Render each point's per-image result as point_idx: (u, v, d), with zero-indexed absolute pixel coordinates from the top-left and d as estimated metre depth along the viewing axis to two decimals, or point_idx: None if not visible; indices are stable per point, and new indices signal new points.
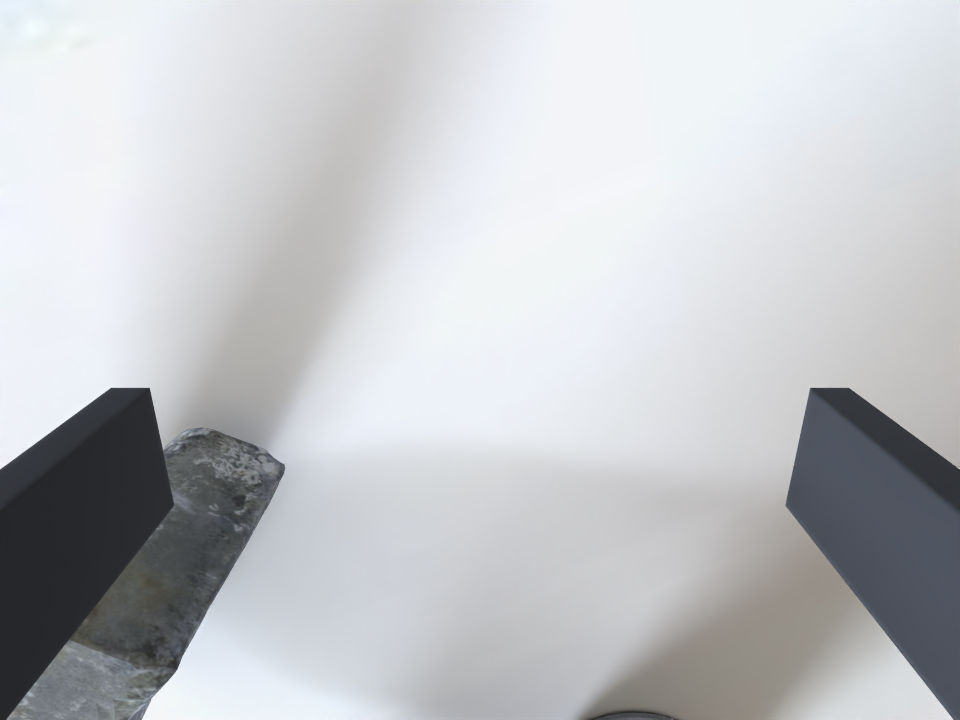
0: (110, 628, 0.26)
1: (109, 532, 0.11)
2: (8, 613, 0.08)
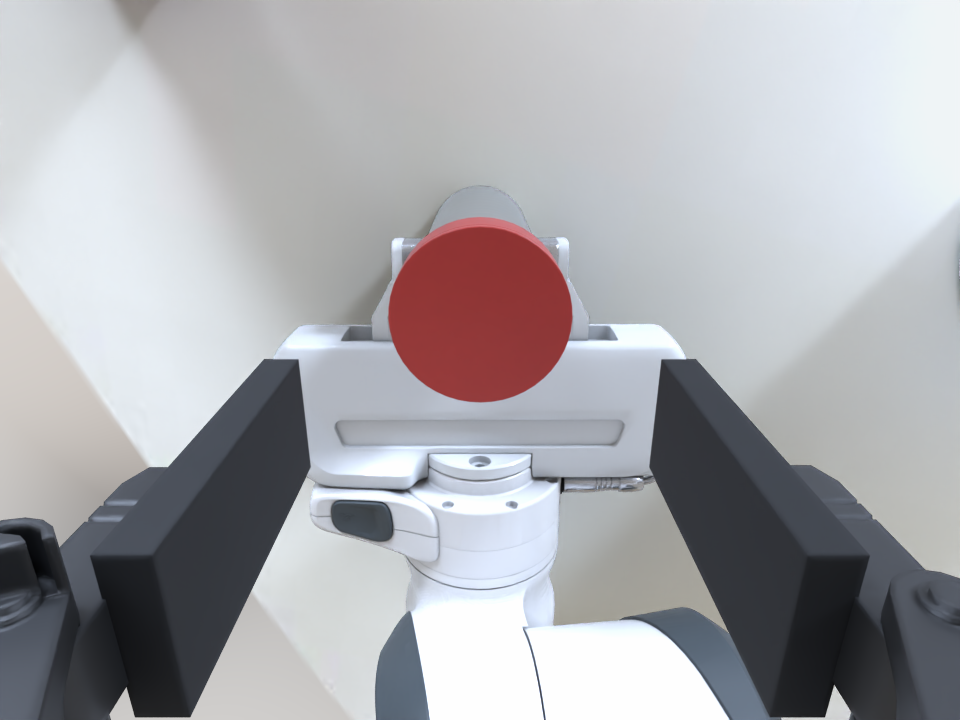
0: None
1: (279, 483, 0.12)
2: (232, 541, 0.10)
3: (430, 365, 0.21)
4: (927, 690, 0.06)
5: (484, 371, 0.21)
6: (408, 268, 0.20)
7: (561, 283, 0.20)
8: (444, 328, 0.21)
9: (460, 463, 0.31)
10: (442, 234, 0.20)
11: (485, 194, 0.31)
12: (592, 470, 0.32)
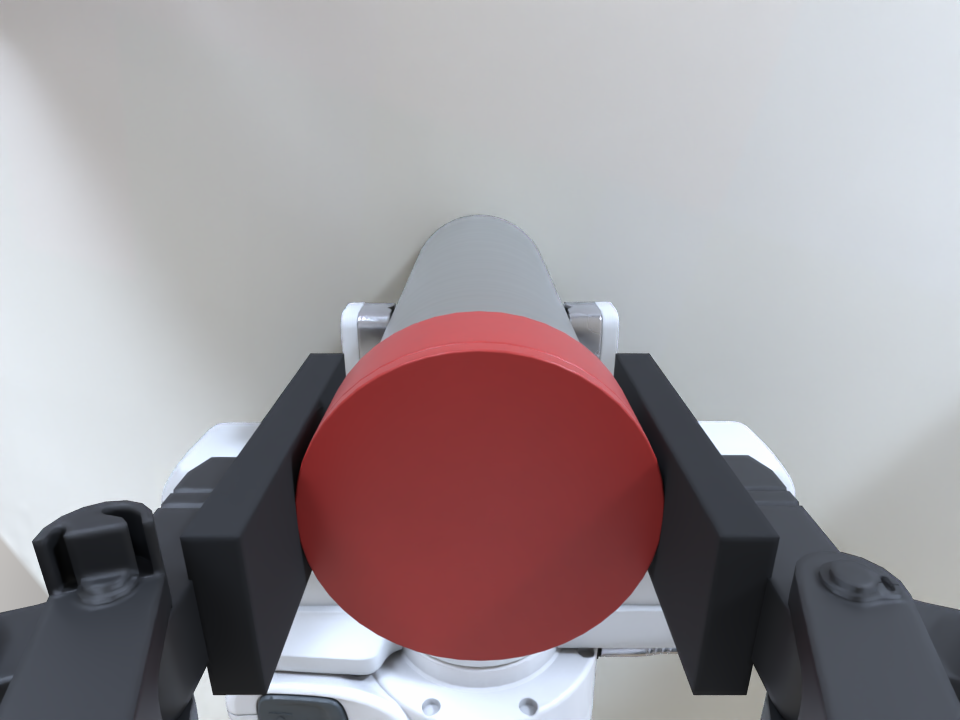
0: None
1: None
2: (296, 527, 0.10)
3: (383, 600, 0.11)
4: (827, 668, 0.06)
5: (487, 610, 0.11)
6: (331, 430, 0.10)
7: (645, 458, 0.10)
8: (408, 538, 0.10)
9: None
10: (399, 365, 0.09)
11: (487, 233, 0.21)
12: (646, 640, 0.21)
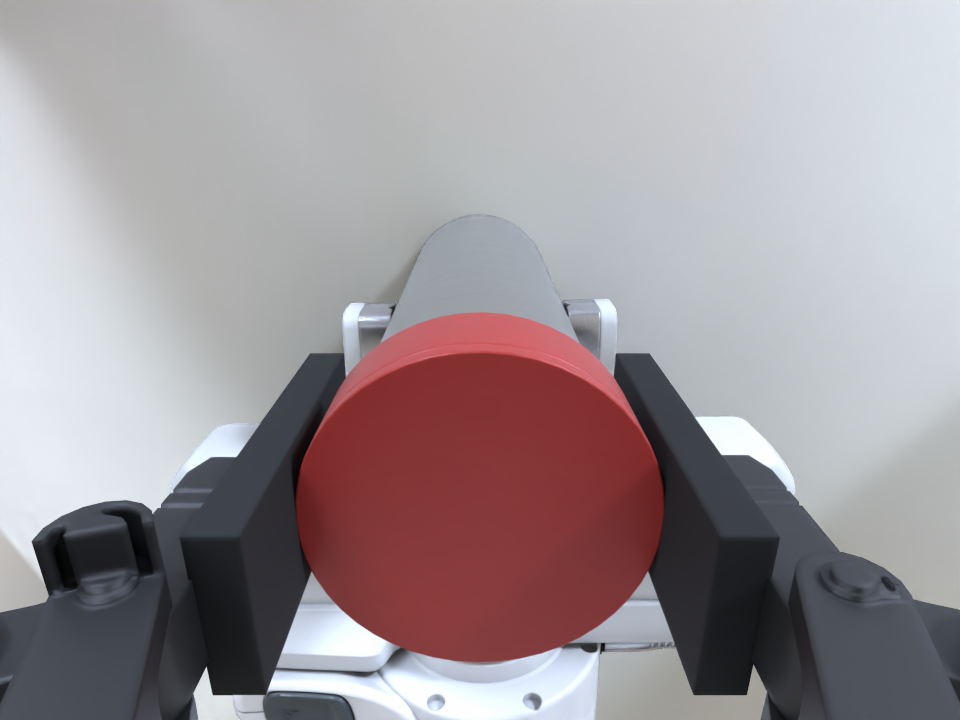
0: None
1: None
2: (296, 527, 0.10)
3: (621, 529, 0.10)
4: (827, 668, 0.06)
5: (560, 449, 0.10)
6: (498, 655, 0.11)
7: (310, 468, 0.10)
8: (542, 556, 0.11)
9: None
10: (413, 651, 0.11)
11: (486, 233, 0.21)
12: (649, 635, 0.22)
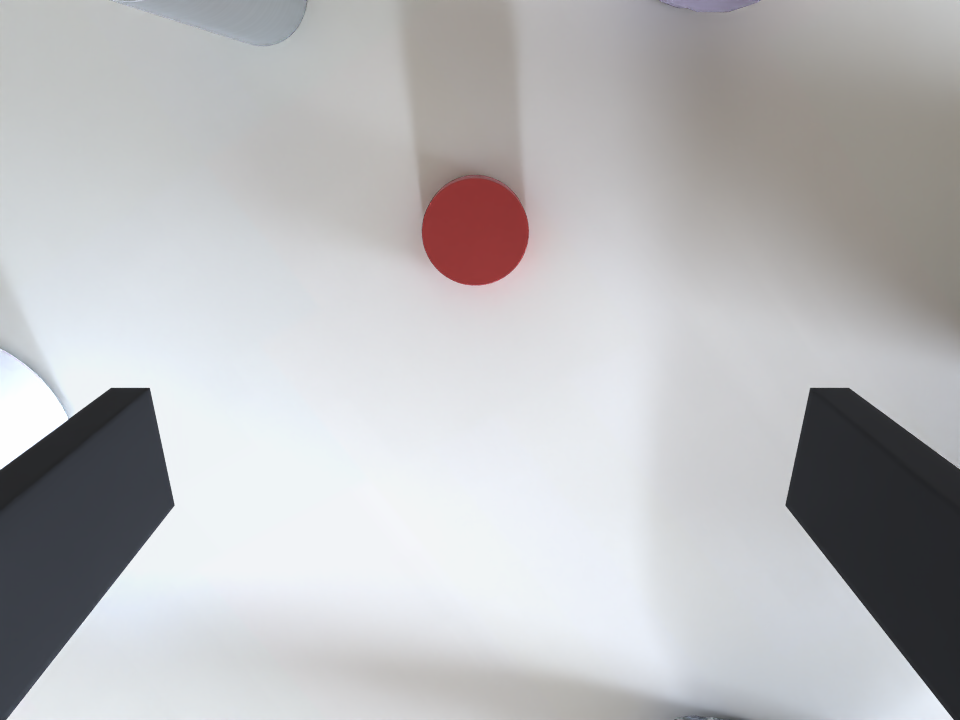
0: None
1: (109, 532, 0.11)
2: (8, 613, 0.08)
3: (471, 273, 0.36)
4: None
5: (498, 256, 0.36)
6: (425, 237, 0.36)
7: (496, 185, 0.35)
8: (463, 251, 0.36)
9: None
10: None
11: (270, 20, 0.30)
12: None
